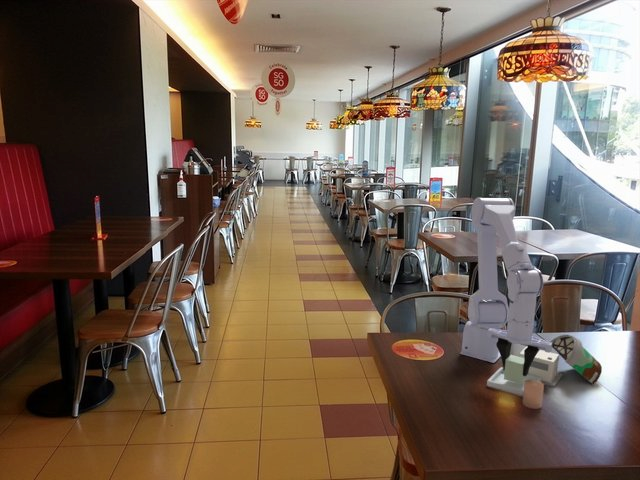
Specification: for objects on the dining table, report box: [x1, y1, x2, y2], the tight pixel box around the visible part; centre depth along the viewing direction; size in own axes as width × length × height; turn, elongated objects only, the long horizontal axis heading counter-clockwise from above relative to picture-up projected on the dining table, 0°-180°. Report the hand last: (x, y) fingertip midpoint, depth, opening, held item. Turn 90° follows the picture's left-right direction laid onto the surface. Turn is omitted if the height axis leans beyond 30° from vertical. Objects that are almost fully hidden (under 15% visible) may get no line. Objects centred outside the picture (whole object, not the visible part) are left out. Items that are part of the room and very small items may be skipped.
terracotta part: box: [522, 380, 545, 410], centre depth 111 cm, size 4×4×5 cm
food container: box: [549, 334, 603, 386], centre depth 125 cm, size 12×6×10 cm
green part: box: [504, 354, 526, 384], centre depth 119 cm, size 4×4×5 cm
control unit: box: [518, 346, 563, 389], centre depth 125 cm, size 10×8×6 cm
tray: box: [486, 366, 542, 398], centre depth 120 cm, size 10×10×1 cm
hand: (515, 371), depth 119 cm, fingers closed on green part, 4 cm apart
